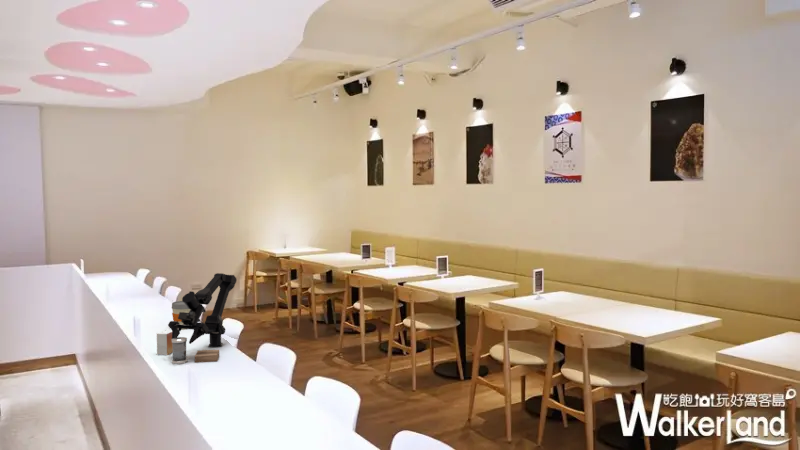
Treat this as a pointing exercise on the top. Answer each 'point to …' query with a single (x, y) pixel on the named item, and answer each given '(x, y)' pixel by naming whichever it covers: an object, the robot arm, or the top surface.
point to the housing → (179, 350)
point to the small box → (164, 342)
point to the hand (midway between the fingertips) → (181, 342)
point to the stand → (207, 356)
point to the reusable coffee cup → (179, 310)
